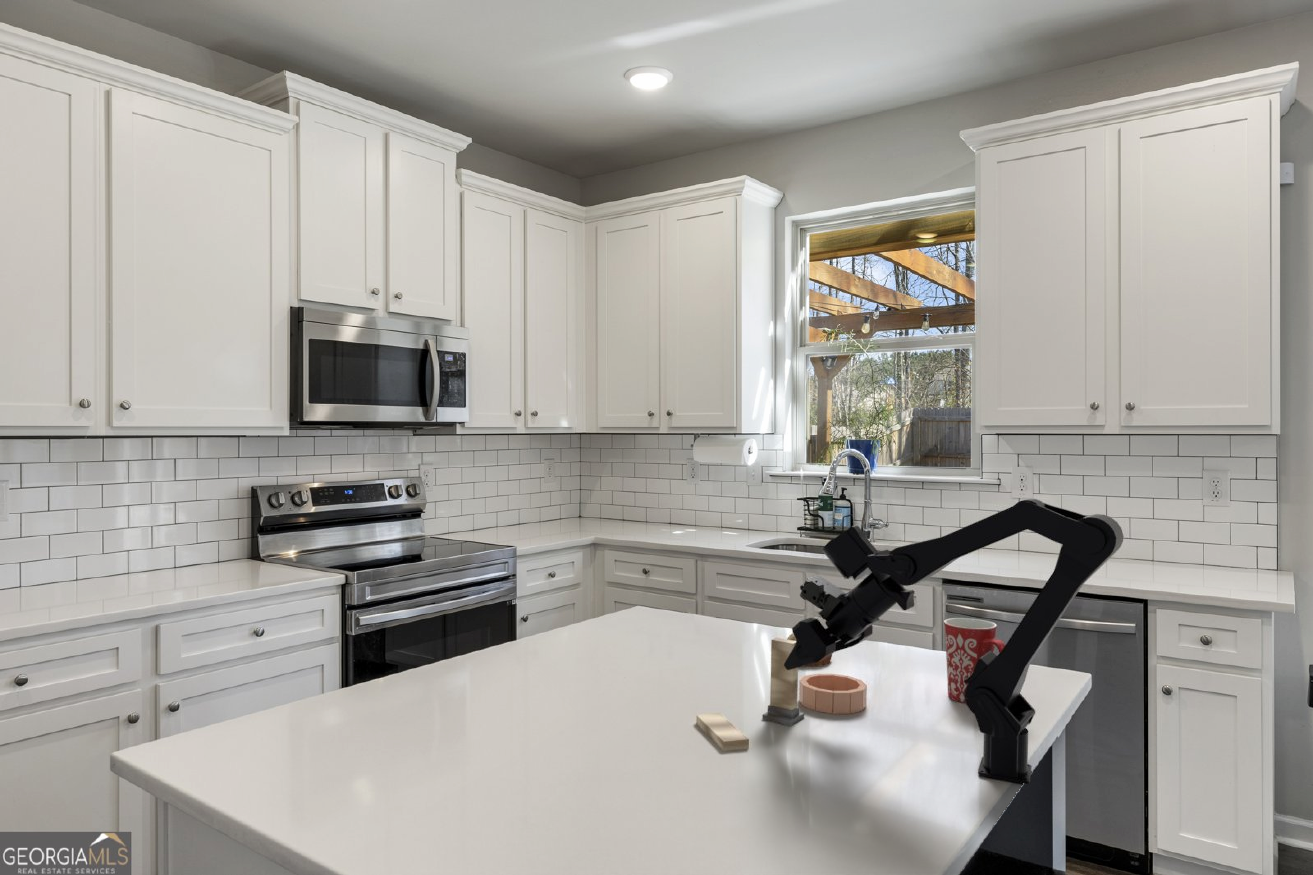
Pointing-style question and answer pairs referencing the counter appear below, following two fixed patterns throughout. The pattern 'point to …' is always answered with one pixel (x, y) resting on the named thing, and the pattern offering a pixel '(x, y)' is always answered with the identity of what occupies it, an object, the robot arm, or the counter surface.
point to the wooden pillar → (783, 686)
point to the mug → (966, 650)
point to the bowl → (833, 693)
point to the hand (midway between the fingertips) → (799, 661)
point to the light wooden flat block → (722, 731)
